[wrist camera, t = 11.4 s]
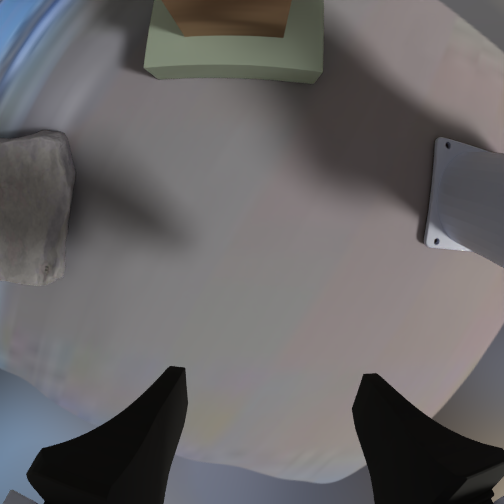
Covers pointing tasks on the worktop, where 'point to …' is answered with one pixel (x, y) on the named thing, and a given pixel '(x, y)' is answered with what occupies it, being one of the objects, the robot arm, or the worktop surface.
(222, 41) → the base block
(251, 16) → the walnut block
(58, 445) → the robot arm
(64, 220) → the stone block
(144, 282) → the worktop surface
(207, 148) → the worktop surface
